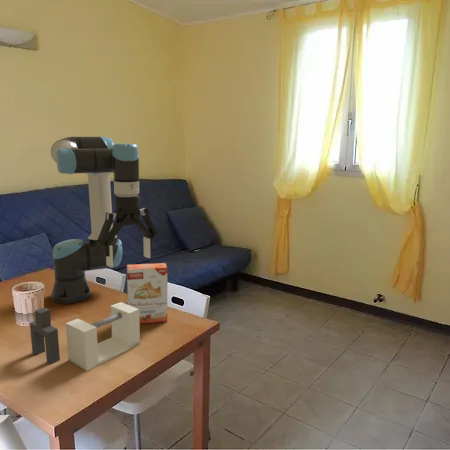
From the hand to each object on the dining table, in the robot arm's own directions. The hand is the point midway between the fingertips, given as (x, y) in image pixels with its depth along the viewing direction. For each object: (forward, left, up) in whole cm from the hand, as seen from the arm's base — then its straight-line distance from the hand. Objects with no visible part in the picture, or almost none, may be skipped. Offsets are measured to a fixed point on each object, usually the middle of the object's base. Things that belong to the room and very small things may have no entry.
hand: (129, 261), depth 131 cm
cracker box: (-9, +11, -27) cm, 30 cm away
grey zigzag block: (-5, -26, -27) cm, 37 cm away
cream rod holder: (+3, -10, -27) cm, 29 cm away
